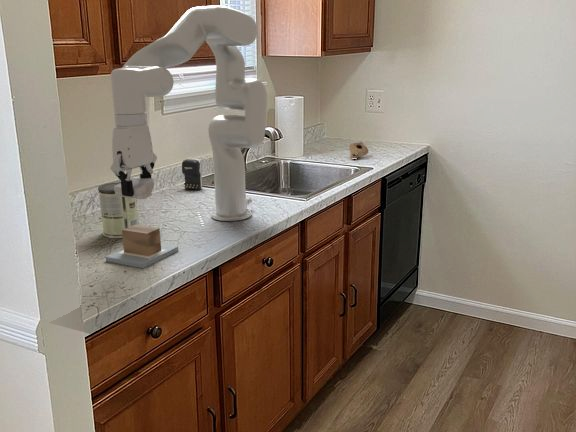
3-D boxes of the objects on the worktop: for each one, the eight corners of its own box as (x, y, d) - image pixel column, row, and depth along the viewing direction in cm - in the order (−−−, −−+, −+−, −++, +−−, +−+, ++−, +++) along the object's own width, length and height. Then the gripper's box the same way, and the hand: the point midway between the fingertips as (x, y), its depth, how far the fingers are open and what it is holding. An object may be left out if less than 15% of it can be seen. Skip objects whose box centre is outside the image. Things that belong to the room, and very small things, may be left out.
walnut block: (137, 246, 158) (135, 224, 157) (161, 250, 155) (159, 228, 153) (124, 252, 154) (121, 229, 152) (148, 256, 151) (146, 233, 149)
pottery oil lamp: (342, 159, 277) (343, 144, 275) (353, 155, 287) (353, 140, 285) (360, 161, 273) (360, 145, 271) (370, 157, 283) (370, 142, 281)
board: (142, 244, 163) (142, 240, 163) (178, 250, 158) (178, 246, 158) (106, 261, 151) (105, 256, 151) (143, 268, 146) (142, 263, 146)
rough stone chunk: (119, 208, 152) (107, 189, 150) (135, 196, 157) (123, 177, 155) (146, 201, 146) (134, 181, 144) (161, 189, 151) (149, 169, 149)
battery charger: (181, 190, 225) (179, 159, 222) (187, 187, 228) (185, 158, 225) (198, 191, 222) (196, 161, 219) (203, 189, 226) (201, 159, 222)
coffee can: (108, 228, 179) (103, 182, 175) (142, 227, 179) (138, 181, 175) (98, 239, 169) (93, 190, 165) (135, 238, 169) (131, 189, 166)
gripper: (142, 116, 154) (148, 184, 159) (93, 124, 140) (101, 199, 144) (166, 117, 151) (171, 186, 156) (118, 125, 136) (125, 202, 141)
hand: (137, 192), depth 150 cm, fingers closed on rough stone chunk, 6 cm apart
